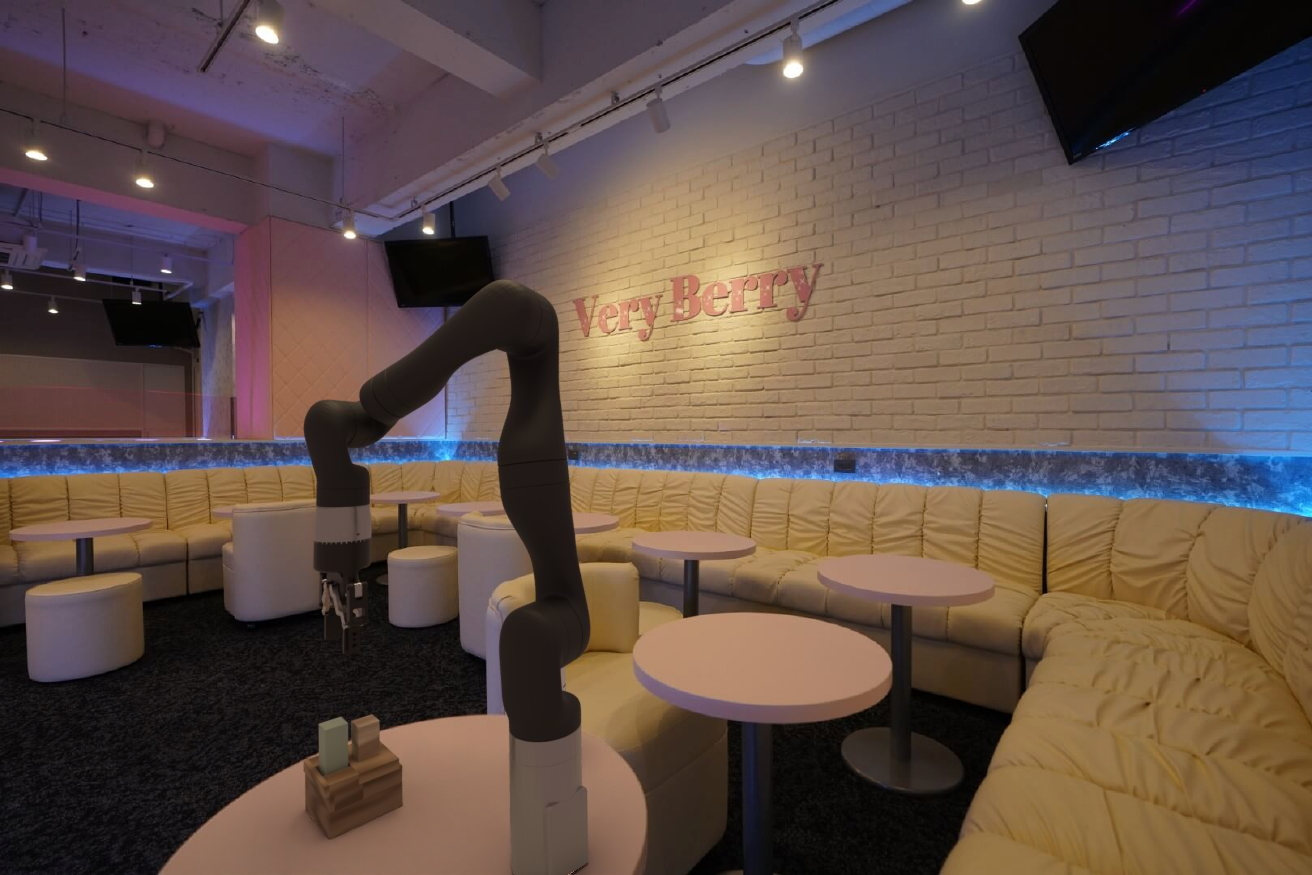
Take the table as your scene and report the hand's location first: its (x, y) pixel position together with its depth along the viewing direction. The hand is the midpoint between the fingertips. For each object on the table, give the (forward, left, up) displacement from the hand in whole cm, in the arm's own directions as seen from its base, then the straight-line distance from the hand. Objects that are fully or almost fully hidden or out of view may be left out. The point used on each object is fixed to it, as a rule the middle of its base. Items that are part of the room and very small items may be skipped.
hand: (341, 646), depth 86 cm
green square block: (0, +1, -21) cm, 21 cm away
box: (+1, -2, -25) cm, 25 cm away
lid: (0, -1, -19) cm, 19 cm away
